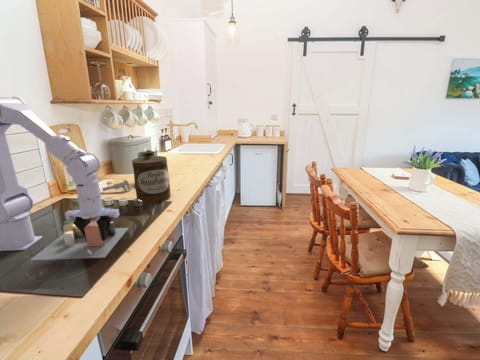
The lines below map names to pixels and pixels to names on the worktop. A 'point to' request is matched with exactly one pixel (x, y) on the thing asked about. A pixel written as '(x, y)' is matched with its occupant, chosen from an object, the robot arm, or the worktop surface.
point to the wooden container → (151, 178)
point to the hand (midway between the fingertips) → (97, 239)
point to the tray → (75, 219)
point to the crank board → (78, 247)
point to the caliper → (118, 186)
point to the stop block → (93, 235)
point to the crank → (78, 233)
